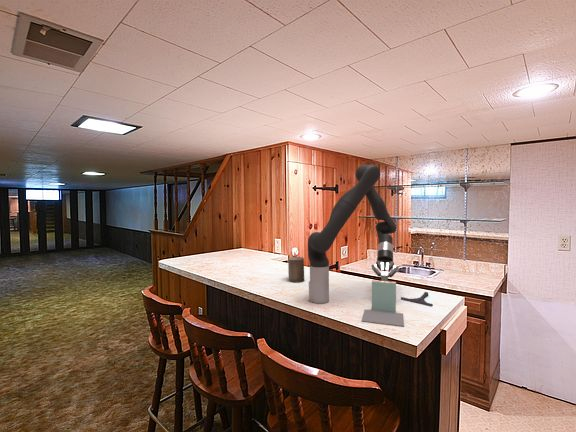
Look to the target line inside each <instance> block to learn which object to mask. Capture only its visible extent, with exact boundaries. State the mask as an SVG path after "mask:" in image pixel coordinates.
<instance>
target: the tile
mask: <svg viewBox="0 0 576 432" xmlns="http://www.w3.org/2000/svg"><path fill="white" fill-rule="evenodd" d="M396 297H397V282H396V281H389V280H388V281H381V280H378V279H377V280H375V279H372V280H371V310H375V311H384V312H393V313H397V311H396V310H397V300H396V299H397V298H396Z"/></svg>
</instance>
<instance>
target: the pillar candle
mask: <svg viewBox="0 0 576 432" xmlns="http://www.w3.org/2000/svg"><path fill="white" fill-rule="evenodd" d="M287 260H288V261H287V263H288V264H287V266H288V268H287V269H288V271H287V272H288V282H290V283H302V282H304V281H305V258H304V257H303V256H302V257H301V256H293V257H291V256H290V257H288V259H287Z"/></svg>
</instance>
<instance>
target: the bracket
mask: <svg viewBox="0 0 576 432" xmlns="http://www.w3.org/2000/svg"><path fill="white" fill-rule="evenodd" d="M427 297H429V292H427V291H424V292H423V294H422V295H421V296H420V297H417V298H416V297H415V298H407V297H404V296H403V297H402V296H400V300H401V301H405V302H409V303H414V304H418V305H421V306H422V305H423V306H427V307H430V308H431V307H433V306H434V305H433V304H432V303H429V302H427V301H426V300H425V299H426V298H427Z"/></svg>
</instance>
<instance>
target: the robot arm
mask: <svg viewBox="0 0 576 432" xmlns="http://www.w3.org/2000/svg"><path fill="white" fill-rule="evenodd" d="M380 176H381V169H380V167H379V166H378V165H376V164H362V165H359V166H358V167H357V169H356V170H355V178H356V180H357V183H356V184H355V185H354V186H353V187H352V188H351V189H349V190H348V191H346V192H345V193H344V194H342V195H341V196H340V198H339V199H338V200H337V202H336V203H335V205H334V206H333V208H332V209H331V212H330V216H329V220H328V222H327V223H326V225H325V226H324V227H323V229H322V230H321V231H314V232H312V233H310V235H309V237H308V240H307V256H308V261H309V280H308V302H311V303H315V304H326V303H329V301H330V260H329V259H328V256H327V251H328V250H330V248H331V247H332V245H333V244H334V242H335V241H336V238H337V236H338V234H339V233H340V232H341V230H342V229H343V227H344V226H345V225H346V223H347V221H348V220H349V218H350V217H351V216H352V215H353V213H354V212H355V211H356V209H357V207H358V206H359V205H360V203H361V202H362V200H363V199H364V198H365V197H366V199H367V201H368V202H369V205H370V208H371V210H372V213H373V215H374V218H375V220H377V221H379V222H377V223H376V224H375V232H376V234H377V239H378V241H377V242H378V243H377V244H378V245H377V252H376V253H377V254H376V256H377V257H376V262H375V264H371V270H372V271H373V272H374V273H375V274H376V275H377V277H378V278H379V277H381V278H380V279H381V280H380V281H389V278H392V277H393V276H395V274H396V273H397V272H399V266H396V265H395V263H394V245H393V241H394V239H393V236H392V235H391V234H394V233H396V232H397V224H396V222H395V220H394V219H393V218H392V217H391V215H390V213H389V212H388V208H387V206H386V203H385V201H384V199H383V198H382V196H381V195H380V194H379V193H378V191H377V190H376V188H375V187H374V186H375V184H376V183H377V182H378V181H379V179H380Z"/></svg>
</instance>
